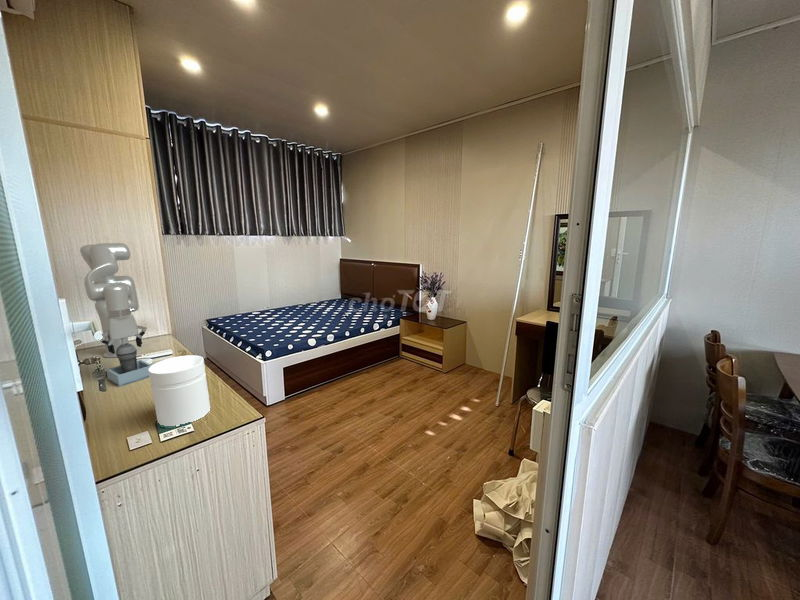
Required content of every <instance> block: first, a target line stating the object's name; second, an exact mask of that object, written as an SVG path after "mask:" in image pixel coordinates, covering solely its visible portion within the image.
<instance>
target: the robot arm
mask: <svg viewBox="0 0 800 600" xmlns="http://www.w3.org/2000/svg"><path fill="white" fill-rule="evenodd" d="M79 252H80V256H81V257H82V259H83V260H84V261H85V263H86V265H88V267H89V269H90V271H89V272H88V273H87V274H86V275H85V278H84V287H85V292H86V295H87V298H88V299H89V300H90V301H92V302H95V303H94V308H95V310H96V313H97V315H98V319H99V321H100V325H101V330H102V334H101V335H102V336H103V338H102V339H101V340H99V341H100V342H101V343H102V344H104V345H105V349H106V352H104V353H103V357H104V358H106V359H107V358H109V359H110V358H118V357H117V355H116V350H117V348H118V347H119V346H120V345H122V344H123V343H122V340H121V339H123V341H124V344H125V343H129V344H130V342H129V338H131V337H135V343H136V346H137V347H140V348H141V347H142V344H143V341H142V338H143V336H144V335H145V334H146V331H147V329H148V327H147V326H141V325H137V322H136V319H135V317H134V314H133V312H137V311H138V310H139V306H140V305H139V300H138V295H137V290H136V285H135V282H134V279H133V277H131V276H129V275H116V273H118V272H119V270H120V268H119V264H118V262H117V261H128V260H130V259H131V250H130V248H129V247H128V245H127V244H125V243H123V242H114V243H113V242H110V243H109V242H106V243H104V242H103V243H95V244H86V245H82V246H81V247H80V250H79ZM139 330H141V331H140V332H139Z"/></svg>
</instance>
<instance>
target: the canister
mask: <svg viewBox="0 0 800 600" xmlns="http://www.w3.org/2000/svg"><path fill="white" fill-rule="evenodd" d="M151 365H152V366H150V367H149V368H148V371H149V377H148V378H149V380H150V381H149V382H150V386H151V387H150V388H151V392H152V397H153V403H154V409H155V414H156V415H155V416H156V421H157V424H158V423H159V424H160V425H164V426H175V425H180V424H185V423H188V422H193V421H196V420H198V419H200V418H202V417H204V416H205V415H206V414H207V413H208V412H209V411H210V412H211V410H210V408H211V401H210V395H209V389H208V380H207V373H206V365H205V360H204V357H203V356H200V355H195V354H192V355H191V354H190V355H179V356H173V357H169V358H166V359H163V360H160V361H157V362H155V363H154V364H151ZM210 412H209V413H210ZM204 418H205V417H204Z"/></svg>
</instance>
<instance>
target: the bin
mask: <svg viewBox="0 0 800 600" xmlns="http://www.w3.org/2000/svg"><path fill="white" fill-rule="evenodd" d="M152 365H153V364H151V363H149V362H147V361H144V360H142V359H139V360H137V370H133V371H130V372H127V373H123V371H122V368H121V365H117V366H114V367H110V368H106V369H105V371H106V376H107V379H108V381H110V382H111V383H113V384H114V385H116V386H117V387H119V388H120V387H123V386H127V385H130V384H132V383H136V382H139V381H142V380H145V379H148V378H150V377H149V371H148V368H149V367H150V366H152Z"/></svg>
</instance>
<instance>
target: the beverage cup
mask: <svg viewBox="0 0 800 600" xmlns="http://www.w3.org/2000/svg"><path fill="white" fill-rule="evenodd" d="M121 340H122V343H123V344H122V345H120V346H119V347H118V348H117V350H116V355H117V357H116V358H117V359H118V362H119V364H120V365H119V366H121V368H122V371H123V373H127V372H130V371H133V370H137V361H138V360H137V355H138V350H137V348H136V346H135V345H134V344H132V343H130V342H129V343H125V344H124V341H123V339H121Z"/></svg>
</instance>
